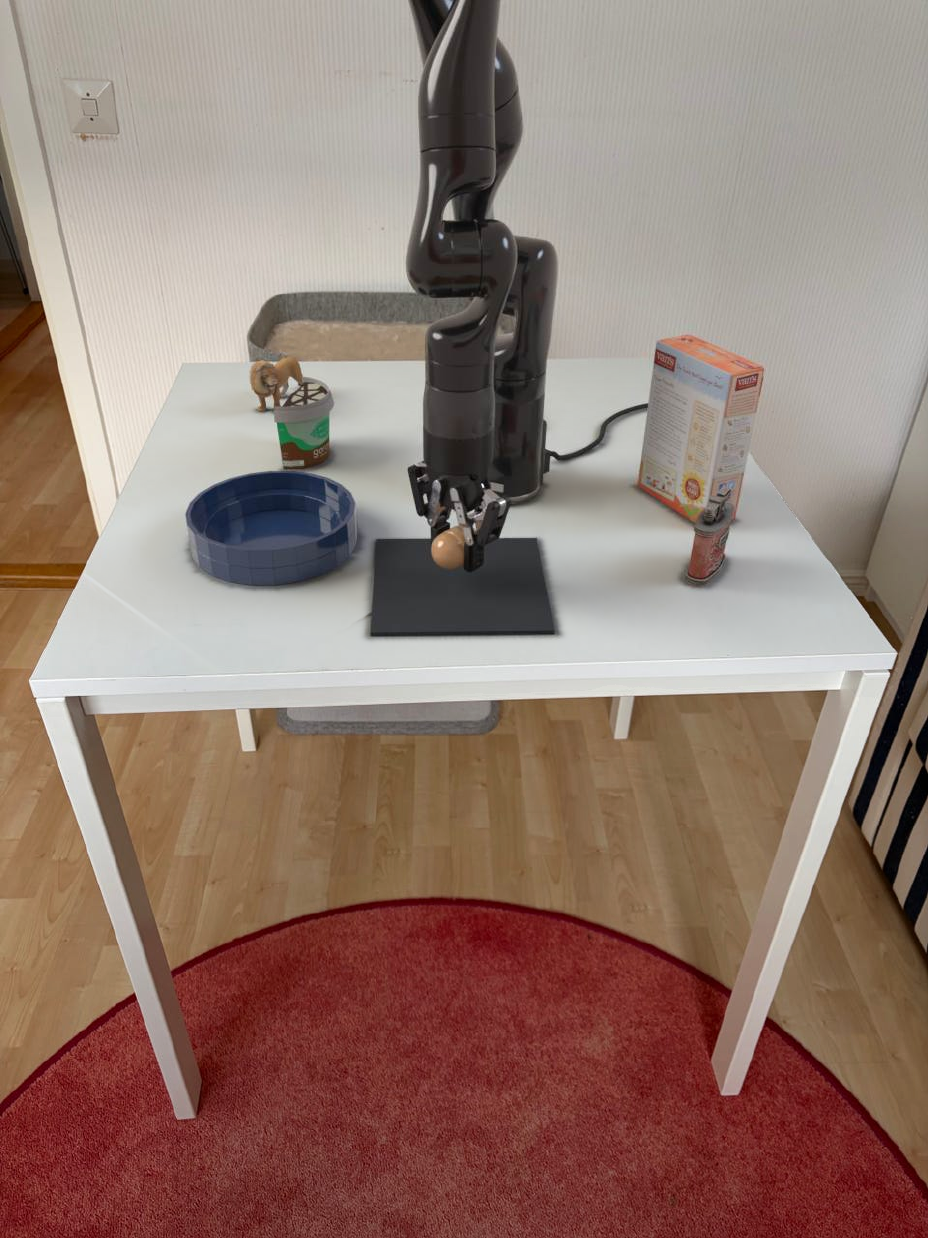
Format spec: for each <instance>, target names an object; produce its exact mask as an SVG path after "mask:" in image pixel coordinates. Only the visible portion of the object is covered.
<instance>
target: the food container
mask: <svg viewBox="0 0 928 1238" xmlns="http://www.w3.org/2000/svg"><path fill="white" fill-rule="evenodd" d="M334 407H335V402H334V397H333V394H332V391H331V389H330V387H329V386H328V384H327V383H326V382H324V381H322V380H319V379H317V378H313V377H308V376H303V377H302V385H301V386H298V388H297V389H296V390H295V391H293V392H291V393H290V394H289V395H288V397H287V399H286V401H285V402H284V404H282V406H281V407H277V406H275V411H274V410H273V415H274V417H273V419H274V421H273V422H274V423H276V428H277V435H278V441H279V448H280V455H281V462H282V469H283V470H287V471H296V470H305V469H310V468H314V467H317V466H319V465H321V464H323V463H325V462H326V461H327V460H328V459H329V458H330V411H331V410H333V409H334Z"/></svg>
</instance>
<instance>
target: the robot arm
mask: <svg viewBox="0 0 928 1238" xmlns="http://www.w3.org/2000/svg"><path fill="white" fill-rule="evenodd" d="M407 3H408V5H409V9H410V13H411V17H412V21H413V26H414V30H415V34H416V40H417V45H418V50H419V54H420V60H421V65H422V73H421V76H420V81H419V86H418V94H417V121H418V122H417V123H418V145H419V147H418V148H419V180H418V181H419V182H418V192H417V199H416V206H415V211H414V217H413V221H412V226H411V229H410V235H409V238H408V243H407V249H406V253H405V273H406V277H407V281H408V282H409V284H410V286H411V288H412V289H413V291H415V293H416V294H417V295H418V296H420V298H421V297H422V298H423V299H427V300H447V299H451V300H452V299H466V300H467V302H468V304H469V305H468V307H467V308H466V309H465V310H463V311H460V312H458V313H456V314H453V315H450V316H446V317H443V318H440V319H437V320H434V321H433V322H432V323H430V324H429V326H428V327H427V328H426V332H425V337H424V359H425V360H424V369H425V371H424V372H425V374H424V377H425V379H424V390H423V397H422V443H423V444H422V459H423V460H422V461H419V462H416V463H414V464H412V465H409V466H408V467H407V475H408V478H409V484H410V488H411V493H412V498H413V502H414V507H415V511H416V514H417V516H418V517H420V518H423V517H424V518H425V519H426V522H427V524H428V526H429V527H430V539H431V546H432V543H433V541H434V539H435V538H436V537H437V536H438V535H439V534H441V533H442V532H444V531H446V530H449V529H451V522H449V521H448V520H449V519H450V517H451V514H452V511H454V512H455V515H456V520H457V525H460V526H462V528H463V532H464V537H465V541H466V543H464V570H465V571H467V572H469V573H471V572H473V571H474V570H476V569H478V568H479V567H480V566H482V565H483V563H484V546H485V545H487V544H489V543H491V542H493V541H494V540H496V539H498V538H501V534H502V531H503V528H504V525H505V522H506V519H507V516H508V513H509V511H510V508H511V506H512V505H517V504H522V503H525V502H530V501H531V500H533V499H534V498H536V497H537V496H538V495H539V493H540V488H541V487H542V486H544V476H545V474H547V473H548V472H550V467H551V457H553V458H554V460H556V461H568V460H572V459H574V458H577V457H580V456H582V455H584V454H586V453H587V452H590V451H591V450H593V449H594V448H596V447H597V446H599V445H600V444H601V442H602V441H603V440H604V438H605V434H606V429H607V427H608V425H609V424H611V423H612V422H613V421H615V420H617V419H618V418H621V417H622V416H624V415H627V414H631V413H633V412H636V411H640V410H644V409H648V402H647V403H642V404H637V405H633V406H630V407H627V408H624V409H622V410H619V411H617V412H615V413H613V414H612V415H610V416H609V417H608V418H606V419H605V420H604V421H603V423H602V424H601V426H600V430H599V433H598V434H599V435H598V437H597V438H596V439H595V440H594V441H592V442H591V443H589V444H588V445H586V446H585V447H583V448H580V449H579V450H577V451H574V452H570V453H568V454H567V453H566V454H558V452H556V451H553V450H550V449H547V448H546V445H547V443H546V442H547V430H548V422H547V420H545V419H544V417H545V416H544V414H545V400H546V399H545V398H546V397H545V396H546V382H547V369H548V368H547V367H548V356H549V352H550V346H551V341H552V332H553V319H554V310H555V303H556V295H557V287H558V280H559V279H558V278H559V277H558V276H559V261H558V254H557V250H556V248H555V246H554V245H553V243H552V242H550V241H549V240H547V239H542V238H537V237H529V236H522V235H521V236H520V235H516V234H513V232H512V230H511V228H510V227H509V226H508V225H507V224H506V223H505V222H504V221H502V220H499V219H495V212H494V211H495V210H494V203H495V199H496V196H497V194H498V191H499V189H500V187H501V186H502V185H501V184H502V183H503V181H504V179H505V178H506V175H507V173H508V172H509V170H510V168H511V166H512V164H513V162H514V160H515V158H516V156H517V154H518V152H519V149H520V146H521V144H522V139H523V134H524V119H523V111H522V110H523V109H522V104H521V103H522V102H521V96H520V88H519V81H518V74H517V70H516V67H515V63H514V60H513V58H512V56H511V54H510V53H509V50H508V49H507V48H506V46H505V45H504V43H503V42H502V40H501V39H500V38H499V36H498V30H499V21H500V10H501V0H407ZM449 202H450V203H451V204H450V205H451V210H452V216H453V219H444V212H445V209H446V207H447V205H448V203H449ZM502 316H506V317H511V318H515V326H514V330H513V331H511V332H507V333H502V334H498V331H499V328H500V323H501V319H502ZM424 495H425V496H426V501H427V502H425V499H424ZM472 511H473V512H472ZM470 512H471V513H470ZM468 513H469V514H468ZM474 526H475V530H476V531H475V532H474V530H473V528H474Z"/></svg>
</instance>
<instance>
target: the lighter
mask: <svg viewBox="0 0 928 1238" xmlns="http://www.w3.org/2000/svg"><path fill="white" fill-rule="evenodd" d="M730 496H731V489H730V487H726V486H724V487H723V488H721V489H720V491H719V492H718V493H717V494H716V495H715V496H714V495H711V496H710V498H709V500H708V503H707V505H706V507H705V509H704V510H703V511H701V513H700V514H699V516H698V517H697V519H696V522H695V523H694V527H693V532H694V537H693V543H692V548H691V549H692V550H691V554H690V560H689V564H688V567H687V569H686V573H685V577H684V578H685V579H684V580H685V582H686V583H687V584H689V585H691V586H693V587H705V586H707V585H708V584H710V583H711V582H712V581H714V579H715V578H717V577H718V576H719V574H720V573H721V571H722V569H723V566H724V564H725V560H726V553H725V550H726V546H727V541H728V540H729V534H730V530H731V528H730V525H731V521H733V520H732V517H733V514H734V509H735V506H734V505H733V504H731V503H729V502H727V501H728V500H729V499H730Z"/></svg>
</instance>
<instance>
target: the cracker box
mask: <svg viewBox="0 0 928 1238" xmlns="http://www.w3.org/2000/svg"><path fill="white" fill-rule="evenodd" d="M765 372H766V367H765V366H763V365H761V364H759V363H756V362H754V361H751V360H749V359H747V358H745V357H742V356H740V355H737V354H735V353H733V352H731V351H728V350H726V349H723V348H721V347H720V346H717V345H714V344H712V343H710V342H708V341H705V340H703V339H701V338H699V337H697V336H695V335H692V334H681V335H678V336H673V337H669V338H662V339H659V340H656V344H655V349H654V358H653V366H652V374H651V379H650V380H651V381H650V388H649V395H648V402H647V403H648V408H647V411H646V416H645V417H646V418H645V426H644V433H643V439H642V440H643V441H642V446H641V447H642V448H641V455H640V463H639V470H638V478H637V487H638V488H639V489H641V490H643V491H644V492H646V493H647V494H649V495H650V496H652V497H653V498H655V499H656V500H658V501H660V502H661V503H663V504H664V505H666V506H667V507H669V508H670V509H672V510H673V511H675V512H676V513H678V514H680V515H681V516H683V517H684V518H686V519H687V520H689V521H691V522H692V523H694V524H695V522H696V519H697V517H698V516H699V514H700V513H701V511H703V510H704V509H705V507H706V505H707V503H708V500H709V498H710V496H711V495H714V496H715V495H716V494H717V493H718V492H719V491H720V489H721V488H723V487H724V486H726V487H730V489H731V496H730V499H729V500H728V501H727V502H729V503H731V504H733V505H734V506H735V509H734V514H733V517H732V520H731V521H734V520H735V519H736V516H737V512H738V506H739V501H740V496H741V491H742V487H743V481H744V476H745V472H746V466H747V463H748V456H749V452H750V446H751V443H752V436H753V431H754V427H755V421H756V417H757V411H758V406H759V402H760V396H761V391H762V387H763V382H764V377H765Z"/></svg>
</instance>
